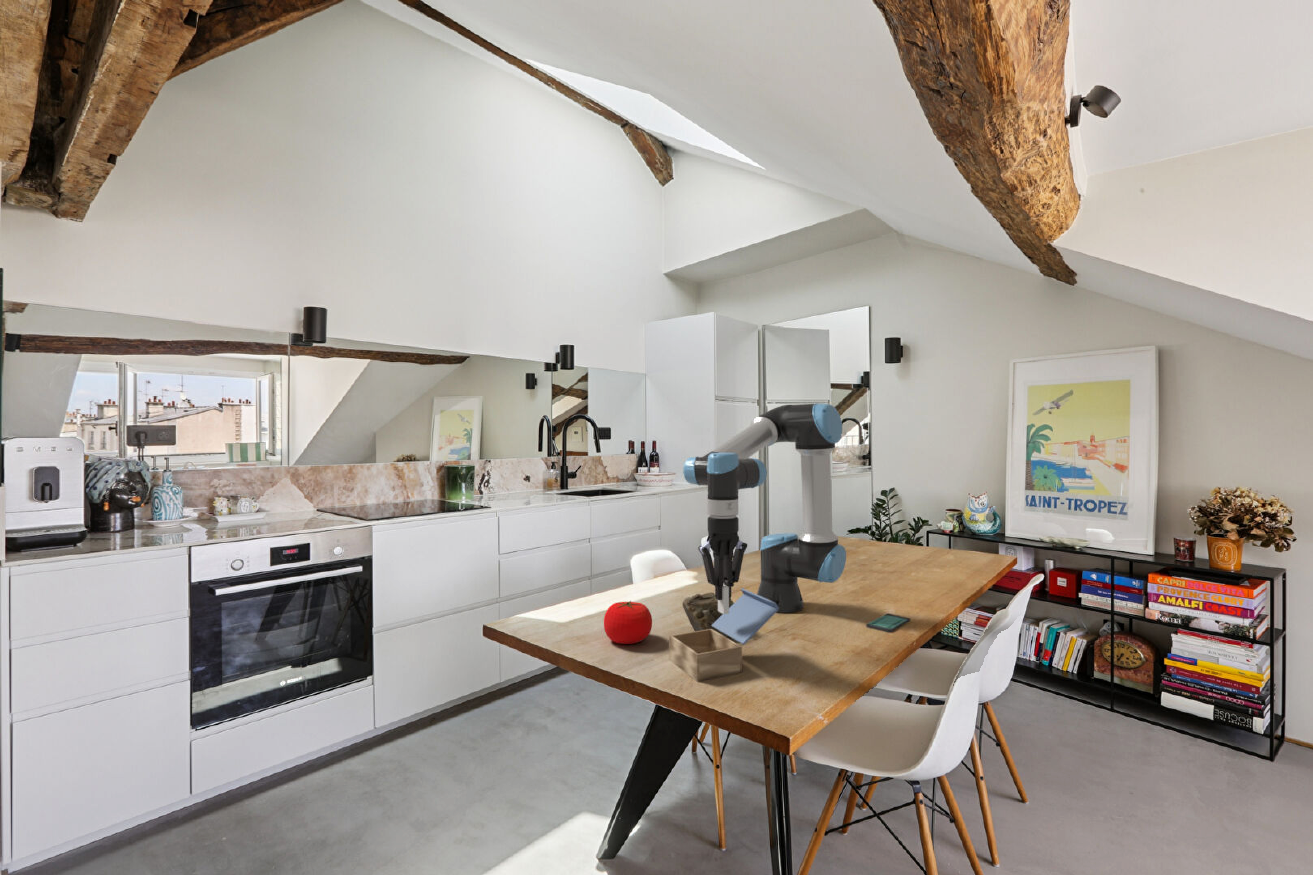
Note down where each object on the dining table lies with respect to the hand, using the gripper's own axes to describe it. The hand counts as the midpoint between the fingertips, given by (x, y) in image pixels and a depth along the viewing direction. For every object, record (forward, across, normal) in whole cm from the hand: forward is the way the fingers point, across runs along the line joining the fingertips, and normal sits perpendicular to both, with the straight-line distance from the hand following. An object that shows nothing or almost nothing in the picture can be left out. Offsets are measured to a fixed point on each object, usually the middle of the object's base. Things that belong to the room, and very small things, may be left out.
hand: (723, 612), depth 146 cm
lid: (+1, +5, 0) cm, 5 cm away
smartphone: (+13, +59, +4) cm, 61 cm away
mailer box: (+12, -5, 0) cm, 13 cm away
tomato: (+13, -15, +24) cm, 31 cm away
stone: (+13, +8, +17) cm, 23 cm away
